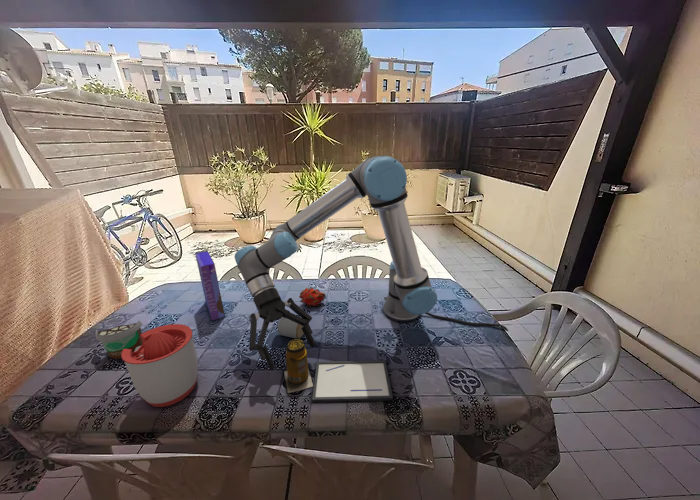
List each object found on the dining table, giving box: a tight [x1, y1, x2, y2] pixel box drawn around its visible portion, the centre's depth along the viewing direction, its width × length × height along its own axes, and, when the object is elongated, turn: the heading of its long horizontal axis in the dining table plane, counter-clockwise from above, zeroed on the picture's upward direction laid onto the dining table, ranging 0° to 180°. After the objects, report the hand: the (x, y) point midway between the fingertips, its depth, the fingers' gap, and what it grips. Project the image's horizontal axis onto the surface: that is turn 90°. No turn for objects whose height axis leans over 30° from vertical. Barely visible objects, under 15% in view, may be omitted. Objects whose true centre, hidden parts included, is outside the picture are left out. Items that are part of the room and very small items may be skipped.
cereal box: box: [194, 250, 226, 322], centre depth 112 cm, size 17×5×24 cm, turn 34°
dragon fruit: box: [298, 287, 327, 308], centre depth 119 cm, size 8×8×12 cm
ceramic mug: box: [277, 317, 304, 340], centre depth 100 cm, size 11×8×8 cm
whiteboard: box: [311, 359, 394, 403], centre depth 80 cm, size 22×14×1 cm, turn 91°
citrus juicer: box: [121, 323, 199, 408], centre depth 74 cm, size 16×17×20 cm
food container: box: [95, 319, 143, 360], centre depth 89 cm, size 12×6×10 cm, turn 117°
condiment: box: [283, 338, 314, 394], centre depth 79 cm, size 7×8×12 cm
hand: (294, 356), depth 79 cm, fingers open, 13 cm apart
